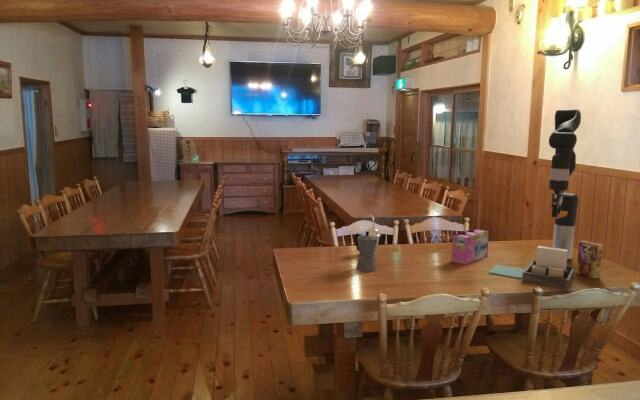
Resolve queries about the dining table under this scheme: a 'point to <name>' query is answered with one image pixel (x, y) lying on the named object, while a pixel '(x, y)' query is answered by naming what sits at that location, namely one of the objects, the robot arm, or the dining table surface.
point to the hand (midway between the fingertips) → (555, 215)
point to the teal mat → (507, 271)
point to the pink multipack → (470, 246)
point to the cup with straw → (374, 234)
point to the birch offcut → (556, 271)
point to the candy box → (589, 259)
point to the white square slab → (551, 257)
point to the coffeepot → (366, 252)
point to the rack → (549, 277)
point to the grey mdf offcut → (539, 270)
